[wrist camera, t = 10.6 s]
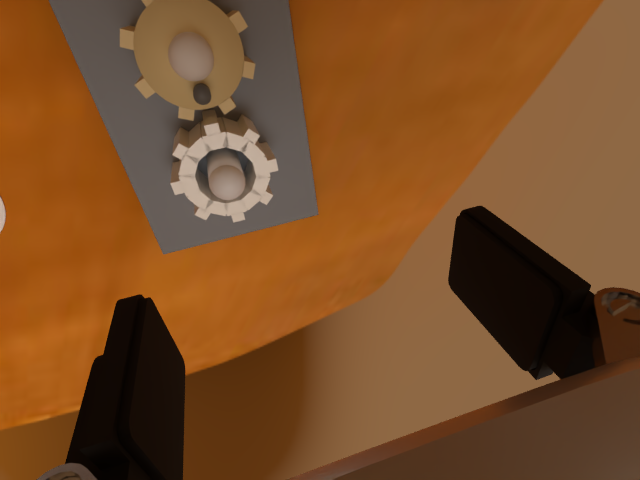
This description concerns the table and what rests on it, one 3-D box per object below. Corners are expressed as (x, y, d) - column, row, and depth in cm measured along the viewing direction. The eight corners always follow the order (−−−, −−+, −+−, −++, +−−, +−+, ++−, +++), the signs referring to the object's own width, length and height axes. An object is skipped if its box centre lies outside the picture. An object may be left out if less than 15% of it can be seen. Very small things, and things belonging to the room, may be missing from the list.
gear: (156, 120, 26) (151, 136, 23) (257, 100, 27) (266, 112, 24) (190, 209, 30) (190, 233, 27) (276, 188, 31) (286, 209, 28)
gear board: (21, -77, 20) (-54, -116, 14) (268, -101, 23) (298, -143, 16) (164, 245, 33) (158, 301, 26) (313, 207, 35) (340, 250, 29)
